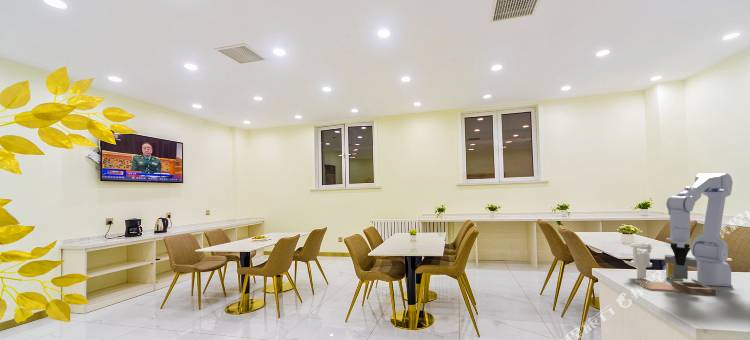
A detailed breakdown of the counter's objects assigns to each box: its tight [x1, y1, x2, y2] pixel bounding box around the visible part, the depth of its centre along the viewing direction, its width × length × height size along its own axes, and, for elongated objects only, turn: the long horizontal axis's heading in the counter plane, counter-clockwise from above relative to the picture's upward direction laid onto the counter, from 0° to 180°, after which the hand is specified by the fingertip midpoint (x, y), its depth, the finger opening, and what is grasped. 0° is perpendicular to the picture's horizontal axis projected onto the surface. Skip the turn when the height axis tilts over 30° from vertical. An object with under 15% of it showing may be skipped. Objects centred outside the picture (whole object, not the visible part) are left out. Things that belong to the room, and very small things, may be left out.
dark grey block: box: [664, 254, 697, 280], centre depth 134 cm, size 9×4×8 cm, turn 51°
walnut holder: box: [671, 280, 717, 296], centre depth 132 cm, size 9×9×2 cm
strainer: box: [630, 242, 653, 280], centre depth 148 cm, size 7×7×15 cm
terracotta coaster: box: [634, 280, 681, 293], centre depth 136 cm, size 10×10×1 cm
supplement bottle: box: [665, 254, 684, 281], centre depth 148 cm, size 5×5×10 cm
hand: (680, 264), depth 134 cm, fingers closed on dark grey block, 4 cm apart
